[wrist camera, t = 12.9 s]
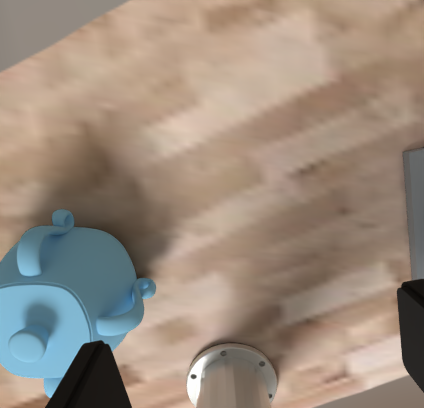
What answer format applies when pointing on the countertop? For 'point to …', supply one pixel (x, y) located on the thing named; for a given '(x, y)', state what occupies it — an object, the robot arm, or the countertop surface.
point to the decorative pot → (65, 297)
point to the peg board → (415, 208)
